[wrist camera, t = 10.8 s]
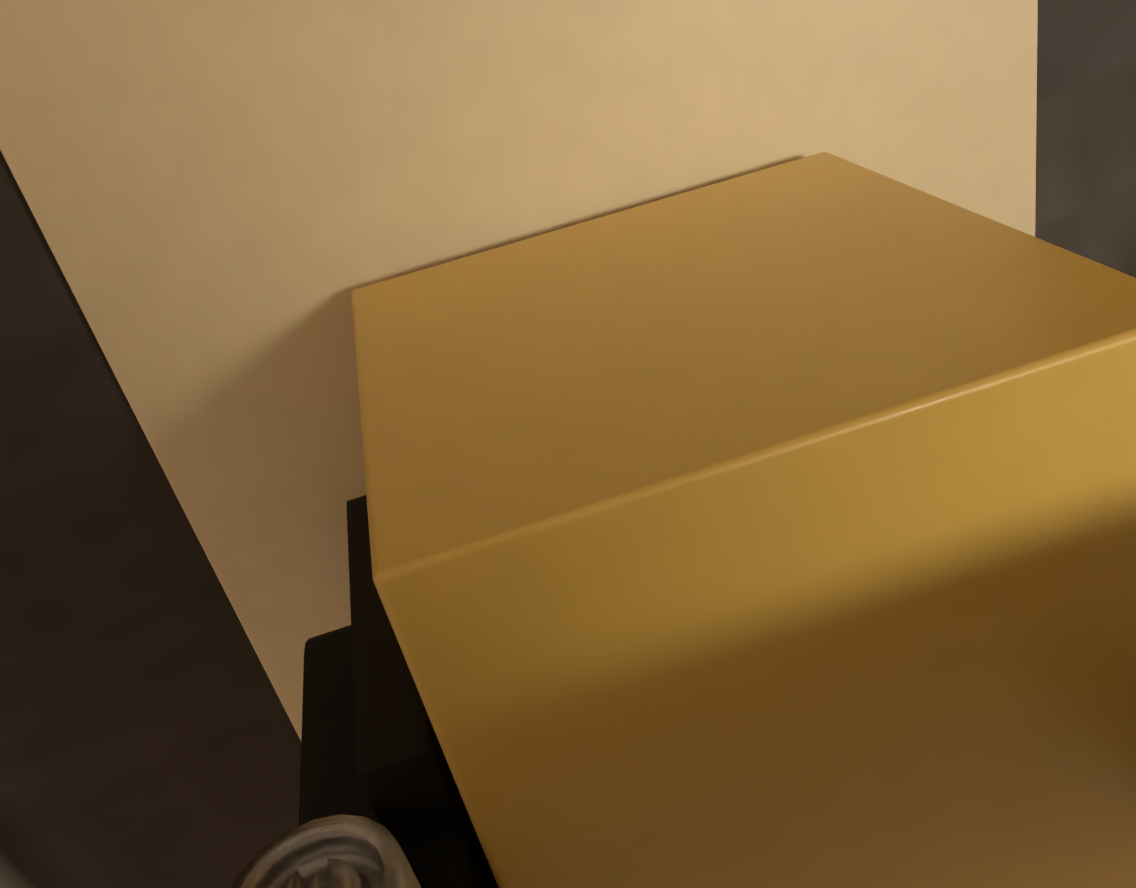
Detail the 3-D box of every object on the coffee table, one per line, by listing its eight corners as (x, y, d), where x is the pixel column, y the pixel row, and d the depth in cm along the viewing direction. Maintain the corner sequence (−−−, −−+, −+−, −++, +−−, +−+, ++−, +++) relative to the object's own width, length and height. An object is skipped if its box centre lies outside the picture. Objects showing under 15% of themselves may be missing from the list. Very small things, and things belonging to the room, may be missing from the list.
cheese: (349, 289, 10) (369, 578, 5) (827, 149, 10) (1215, 307, 6) (524, 779, 13) (625, 1202, 9) (875, 658, 13) (1142, 1004, 9)
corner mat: (-167, -197, 7) (-179, -201, 7) (1029, -484, 8) (1044, -493, 8) (436, 998, 15) (437, 1010, 15) (1022, 788, 16) (1029, 797, 16)
